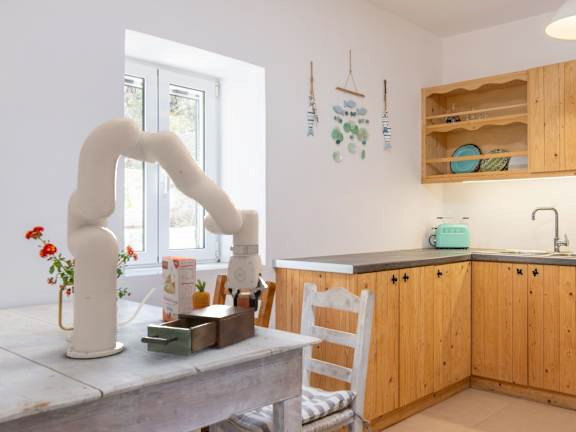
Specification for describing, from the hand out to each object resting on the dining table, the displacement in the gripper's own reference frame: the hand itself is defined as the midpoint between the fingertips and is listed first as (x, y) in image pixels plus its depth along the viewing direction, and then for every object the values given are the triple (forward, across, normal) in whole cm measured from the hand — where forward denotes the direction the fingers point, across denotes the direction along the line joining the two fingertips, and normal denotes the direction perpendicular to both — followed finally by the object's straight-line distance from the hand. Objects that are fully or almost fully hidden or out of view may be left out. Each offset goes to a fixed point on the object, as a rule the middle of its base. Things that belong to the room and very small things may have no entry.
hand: (245, 310), depth 158 cm
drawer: (+5, 0, -27) cm, 28 cm away
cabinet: (+6, 0, -13) cm, 14 cm away
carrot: (+6, -13, -4) cm, 15 cm away
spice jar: (+6, 0, 0) cm, 6 cm away
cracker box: (+6, -26, +1) cm, 27 cm away
